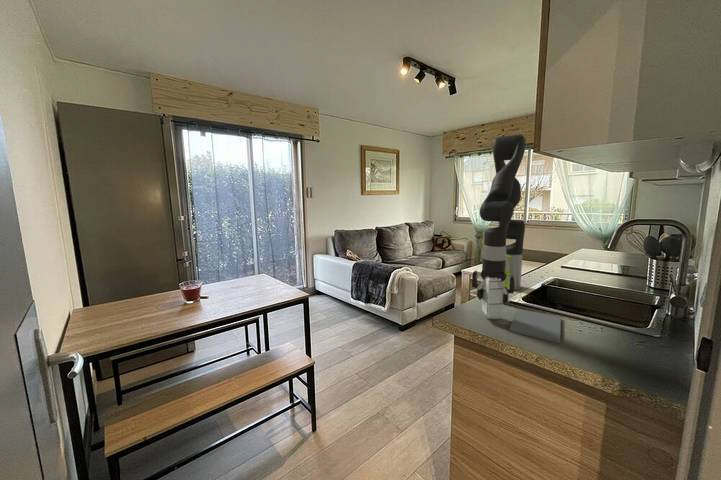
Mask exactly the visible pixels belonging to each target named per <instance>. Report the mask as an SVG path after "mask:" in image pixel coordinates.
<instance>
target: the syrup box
mask: <svg viewBox="0 0 721 480" xmlns="http://www.w3.org/2000/svg"><path fill="white" fill-rule="evenodd" d="M498 279H499V281H500V282H501V283H502V285H504V281H501V279H500V278H498ZM503 294H504V292H503V291H502V289H500V287H499V286H498V282H497V279H496V278H493V277H490V278H486V284H485V285H484V286H483V287H482V299H481V312H482V313H483V314H484V315H485V316H486V317H487V318H503V315H504V304H503Z"/></svg>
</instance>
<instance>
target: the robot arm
mask: <svg viewBox="0 0 721 480" xmlns="http://www.w3.org/2000/svg"><path fill="white" fill-rule="evenodd" d="M525 151H526V139H525V137H524V135H522V134H514V135H504V136H499V137H495V138H494V140H493V143H492V154H493V161H494V162H493V163H494V169H495V175H494V177H493V179H492V181H491V184H490V185H491V187H490V190H489V193H488V195H487V196H486V197H485V199H484V201H483V202H482V204H481V205H480V207H479V208H480V209H479V218H481V220H483V221H484V222H498V226H494V227H489V228H486V229H485V231H484V237H483V239H484V241H483V249H482V254H481V255H482V261H481V262H482V266H481V271H477V270H473V272H472V277H471V278H472V281H471V287H472V288H475V289H476V297H477V298H478V300H481V301H482V287H483V286H484V285H485V284H486V278H490V277H493V278H496V279H497V282H498V286H499V287H500V289H502V291H503V292H504V294H503V305H506V304H505V303H507V301H508V302H509V295H510V294H514V293H515V291H518V290H521V284H522V283H521V282H522V268H523V265H522V264H523V255H524V254H523V253H524V252H523V251H524V238H525V232H526V231H525V230H526V224H525V221H524V220H521V219H520V220H519V219H518V220H517V219H516V220H515V219H512V218H513V215H514V211H515V208H516V206H518V205H519V203H520V202H521V198H522V195H521V193H522V188H521V187H522V186H521V183H520V181H519V180H518V179H517V178H516V175H517V173H518V171H519V168H520V166H521V163H522V160H523V157H524V156H525ZM506 161H508V163H506ZM507 240H515V242H512V243H511V244H507ZM506 256H511V257H513V258H506ZM506 264H507V271H508V272H510V276H507V275H506V274H505V266H506ZM479 277H481V279H482V280H481V282H480V283H479V284H478V278H479ZM498 278H500V279H501V281H504V280H505V279H507V280H508V282H509V289H507V287H506V285H505V283H504V285H502V283H501V282H500V281H499V279H498ZM507 304H508V303H507Z"/></svg>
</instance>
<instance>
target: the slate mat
mask: <svg viewBox="0 0 721 480" xmlns="http://www.w3.org/2000/svg"><path fill="white" fill-rule="evenodd" d="M561 319H562V317H561V316H560V315H559V316H558V315H551V314H546V313H541V312H537V311H531V310H525V309H521V308H517V310H516V311H515V314H514V317H513V319H512V322H511V325H510V327H509V332H510V333H514V334H519V335H522V336H527V337H531V338H536V339H540V340H541V339H542V340H545V341H549V342H554V343H559V344H560V343H561V324H562V323H561V321H562V320H561Z"/></svg>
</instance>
